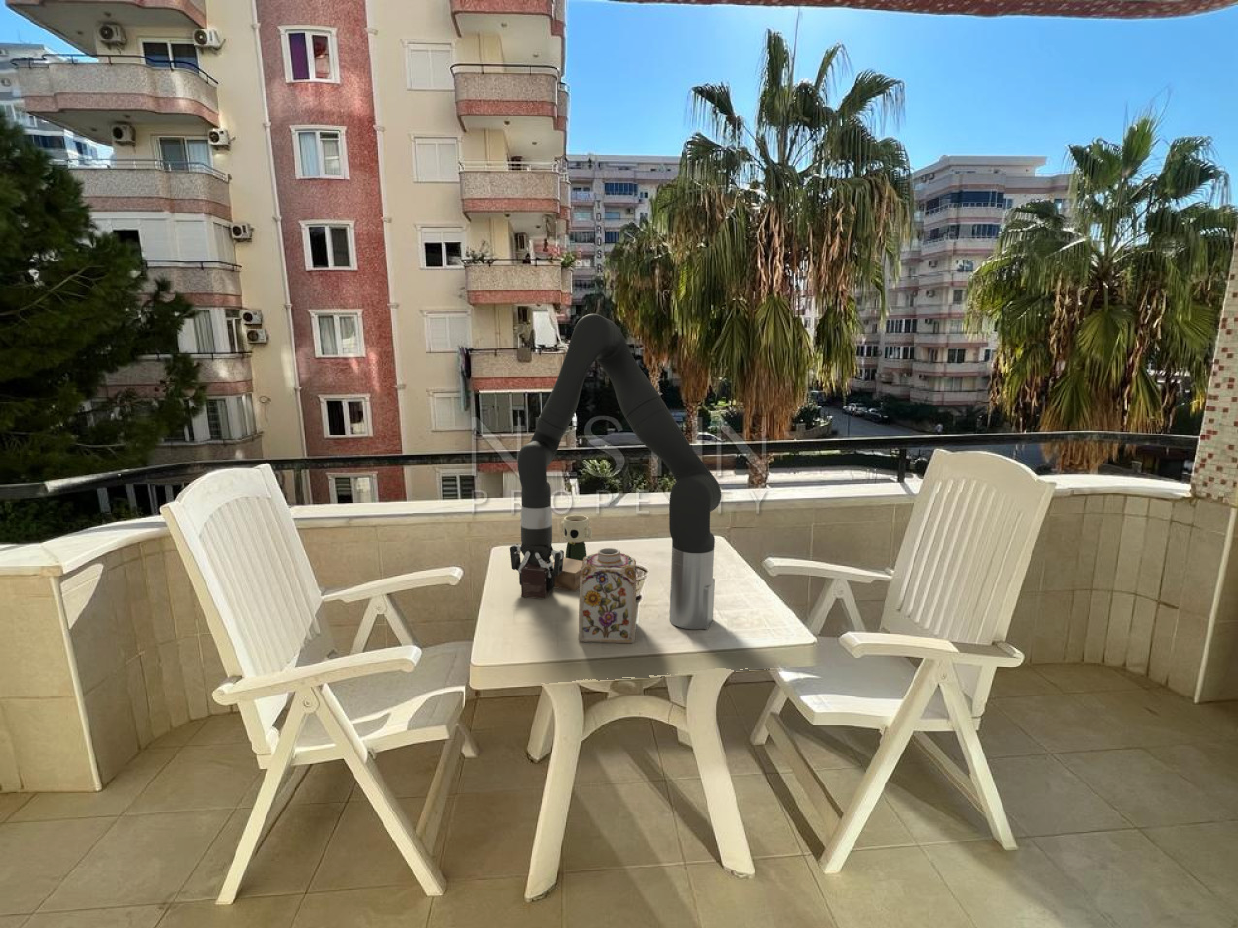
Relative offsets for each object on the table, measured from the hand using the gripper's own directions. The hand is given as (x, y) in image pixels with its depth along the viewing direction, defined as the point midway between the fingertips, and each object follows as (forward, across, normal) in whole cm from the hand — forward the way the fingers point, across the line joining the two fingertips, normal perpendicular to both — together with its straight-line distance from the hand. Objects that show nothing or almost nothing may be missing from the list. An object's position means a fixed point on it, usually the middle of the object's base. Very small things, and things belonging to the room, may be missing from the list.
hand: (536, 588), depth 146 cm
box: (+1, 0, 0) cm, 1 cm away
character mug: (+1, +1, -25) cm, 25 cm away
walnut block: (+2, -4, -10) cm, 11 cm away
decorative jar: (+2, -24, +12) cm, 27 cm away
